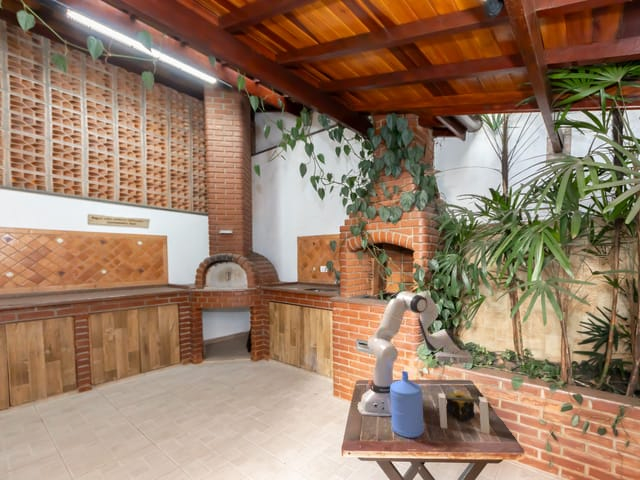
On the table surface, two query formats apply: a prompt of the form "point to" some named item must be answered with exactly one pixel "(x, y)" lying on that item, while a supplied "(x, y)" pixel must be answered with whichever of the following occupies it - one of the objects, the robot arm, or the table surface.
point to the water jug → (406, 407)
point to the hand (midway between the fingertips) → (455, 362)
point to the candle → (460, 407)
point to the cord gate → (482, 400)
